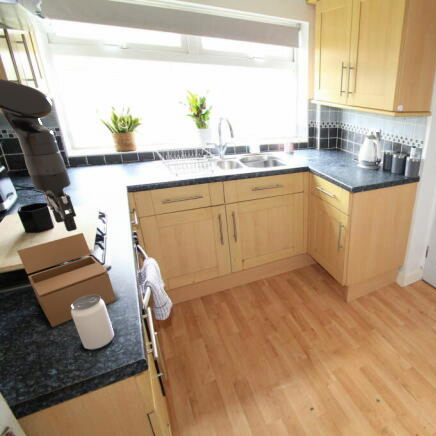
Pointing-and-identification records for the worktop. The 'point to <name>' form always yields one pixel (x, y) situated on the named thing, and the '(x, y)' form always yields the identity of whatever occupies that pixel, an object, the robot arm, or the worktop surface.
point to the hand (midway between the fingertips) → (66, 225)
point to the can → (92, 321)
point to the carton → (70, 287)
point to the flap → (53, 252)
